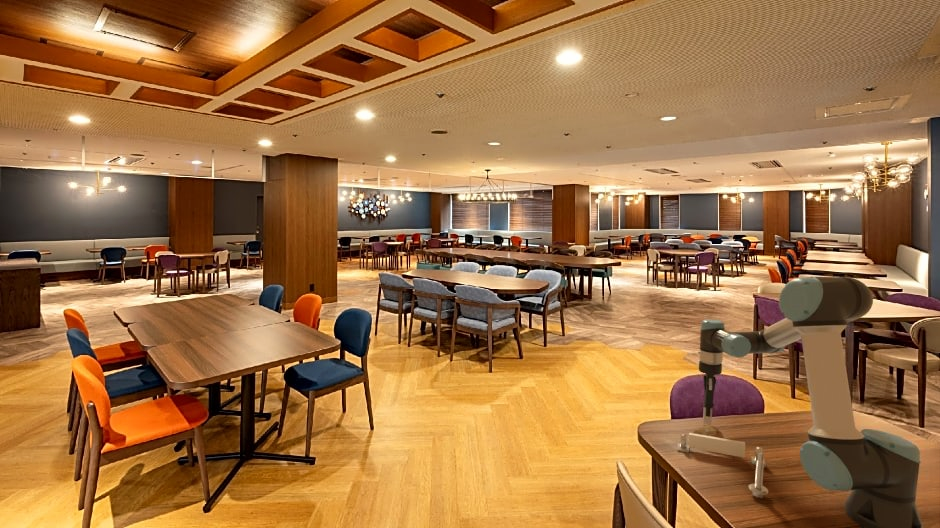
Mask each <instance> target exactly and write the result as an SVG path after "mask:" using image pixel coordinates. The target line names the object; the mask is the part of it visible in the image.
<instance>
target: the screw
mask: <svg viewBox="0 0 940 528" xmlns="http://www.w3.org/2000/svg"><path fill="white" fill-rule="evenodd" d="M763 454H764V453H763ZM763 454H762V453H761V452H758V460H757V462H756V463H757V464H756V465H755V467H756V468H755V475H754V476H755V478H754V482H753V483H750V484H748V487H747V488H748V489H749V490H750V491H751V492H752V496H754V497H755V498H759V499H763V498H764V495H768V494H769V490H768V488H767V487H766V486H764V485H763V482H764V481H763V480H764V479H763V478H764V468H765V467H763V466H764V465H763V464H764V463H763V462H764V461H765V460H764V461H763V458H764V455H763Z"/></svg>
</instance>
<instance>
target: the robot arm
mask: <svg viewBox="0 0 940 528" xmlns="http://www.w3.org/2000/svg"><path fill="white" fill-rule="evenodd" d="M873 297H874V295H873V294H872V291H871V289H870V288H869V286H867V285H866V283H863V281H860V280H859V279H857V278H854V277H850V276H849V277H848V276H805V277H797V278H794V279H791V280H790V281H788V282H787V283H786V284H785V285H784V287H783V288H782V289H781V292H780V294H779V297H778V298H779V299H778V305H779V310H780V312H781V314H783V317H785V318H782V319H781V320H779V321H777V322H775V323H773V324H772V325H769V326H767V327H766V328H763V329H762V330H759V331H730V330H727V329H725V322H724V321H722V320H720V319H719V320H718V319H703V320H702V321H701V325H700V335H699V336H700V338H699V351H697V355H699V361H698V371H699V372H700V373H702V374H705V375H702V376H703V389H704V390H703V391H704V392H703V404H702V406H701V407H702V408H703V414H702V415H703V416H702V417H703V418H702V424H703V425H711V426H712V418H713V408H714V406H715V404H714V395H715V394H714V392H715V388H716V387H715V386H716V383H717V379H716V376H718V375H719V376H720V375H721V374H722V372H723V364H722V363H723V358H724V357H723V355H724V353H725V354H727V355H728V356H731V357H735V358H739V359H740V358H745V356H747V355H750V354H752V355H753V354H777V353H781V352H783V351H784V349H786V346H788V345H790V344H792V343H795V342H797V341H799V340H801V345H802V352H803V358H804V366H805V372H806V381H807V389H808V394H809V399H810V400H809V401H810V410H811V415H812V423H813V425H812V427H811V428H810V429H808V431H807V438H808V440H807V441H806V442H804V443H803V444H801V447H800V449H799V459H800V463H801V465H802V467H803V469H804V470H805V473H806V474H807V475H808V476H809V477H810V478H811V480H812V481H813V482H814V483H815V484H816V485H818V486H820V487H821V488H823V489H825V490H827V491H840V492H848V491H851V492H850V493H849V495H848V497H847V498H846V500H845V506H844V507H845V508H844V511H845V513H846V516H848V517H849V518H850V520H852V521H853V522H854V523H856V524H857V525H859V526H860V527H863V528H923V526H924V525H923V523H922V519H921V517H920V513H919V511H918V506H917V503H916V499H917V498H916V497H917V489H918V480H919V472H920V464H922V462H921V459H920V458H921V451H920V449H919V448H918V446H917V445H916V444H915V443H913V442H912V441H909V440H908V439H906V438H903V437H901V436H898V435H895V434H893V433H890V432H886V431H883V430H876V429H870V428H864V429H861V431H860V430H858V429H857V428H856V424H855V423H856V422H855V417H854V410H853V405H852V404H853V403H852V398H851V391H850V386H849V385H850V383H849V380H848V379H849V378H848V372H847V367H846V366H847V365H846V359H845V353H844V347H843V341H842V332H843V331H844V330H845V329H846V328H847V326H848V325H847V324H849V323H850V322H854V321H856V320H858V319H861V318H863V317H864V316H866V315H867V314H868V313H869V312H870V310H871V309H872V307H873V303H874V298H873Z"/></svg>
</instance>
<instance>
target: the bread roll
mask: <svg viewBox="0 0 940 528" xmlns="http://www.w3.org/2000/svg"><path fill="white" fill-rule="evenodd" d="M692 433H694V434H700V435H706V436H711V437H717V438H723V439H725V436H724V434H723V432H722V431H721V430H720V429H718V428H717V427H715V426H714V425H712V424H711V425H709V424H703V425H702V426H698V427H695V429H693V432H692Z"/></svg>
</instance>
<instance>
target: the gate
mask: <svg viewBox="0 0 940 528" xmlns="http://www.w3.org/2000/svg"><path fill="white" fill-rule="evenodd" d="M687 445H688V447H689V449H696V450H701V451H707V452H711V453H716V454H722V455H728V456H734V457H738V458H745V457H746V456H745V455H746V442H745V441H740V440H734V439H728V438H724V439H723V438H717V437H711V436H706V435H700V434H694V433H693V432H689V433H688V443H687Z"/></svg>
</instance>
